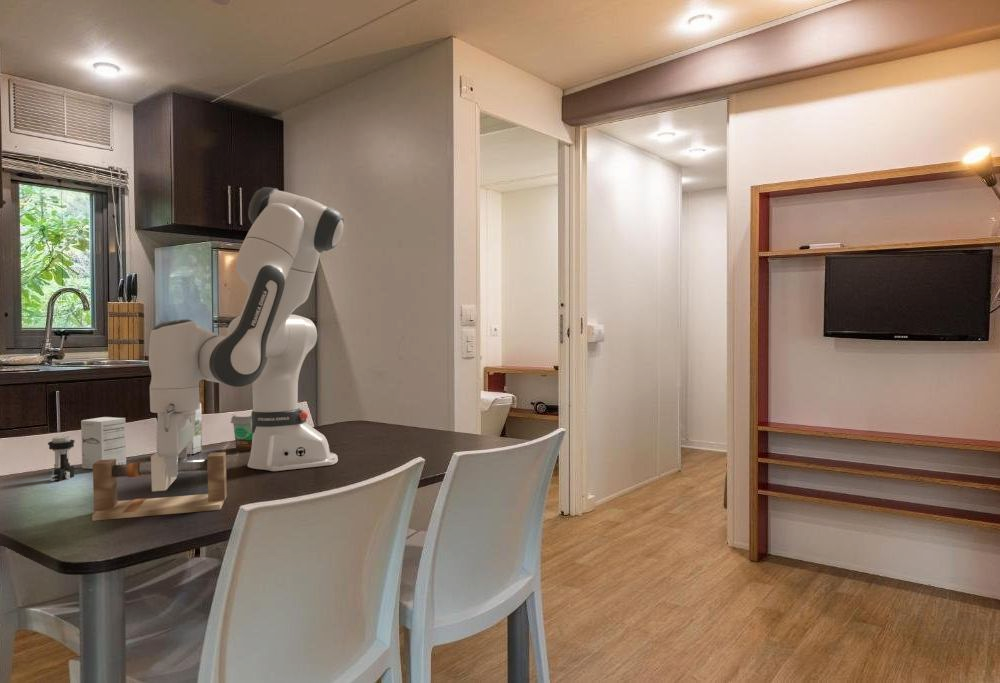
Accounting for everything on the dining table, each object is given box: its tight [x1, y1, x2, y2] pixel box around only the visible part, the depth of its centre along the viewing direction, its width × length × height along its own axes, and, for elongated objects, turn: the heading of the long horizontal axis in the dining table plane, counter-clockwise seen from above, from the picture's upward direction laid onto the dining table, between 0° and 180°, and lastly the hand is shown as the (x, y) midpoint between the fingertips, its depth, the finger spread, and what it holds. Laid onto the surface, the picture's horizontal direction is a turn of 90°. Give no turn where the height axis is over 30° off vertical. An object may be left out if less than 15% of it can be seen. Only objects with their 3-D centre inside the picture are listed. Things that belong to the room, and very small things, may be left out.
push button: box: [47, 435, 75, 482], centre depth 158 cm, size 7×5×10 cm
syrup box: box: [187, 402, 203, 455], centre depth 188 cm, size 6×6×14 cm
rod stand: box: [91, 451, 228, 521], centre depth 130 cm, size 23×10×10 cm, turn 107°
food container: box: [230, 413, 253, 452], centre depth 194 cm, size 12×6×10 cm, turn 80°
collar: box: [150, 451, 177, 492], centre depth 131 cm, size 2×11×7 cm, turn 16°
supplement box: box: [80, 416, 127, 470], centre depth 172 cm, size 7×7×13 cm
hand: (177, 471), depth 131 cm, fingers open, 8 cm apart
